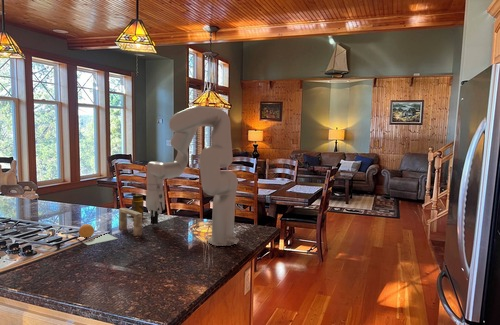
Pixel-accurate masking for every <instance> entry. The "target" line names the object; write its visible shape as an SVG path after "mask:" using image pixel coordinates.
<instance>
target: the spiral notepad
mask: <svg viewBox="0 0 500 325" xmlns="http://www.w3.org/2000/svg"><path fill="white" fill-rule="evenodd" d="M118 239H119V238H118V237H115V236H113V235H112V234H109V233H107V234H105V235H102V236H100V237H98V238H95V239H92V240H90V241H87V242H83V244H84V245H86V246H91V245H95V244H100V243H107V242H109V241H110V242H111V241H115V240H118Z"/></svg>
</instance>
